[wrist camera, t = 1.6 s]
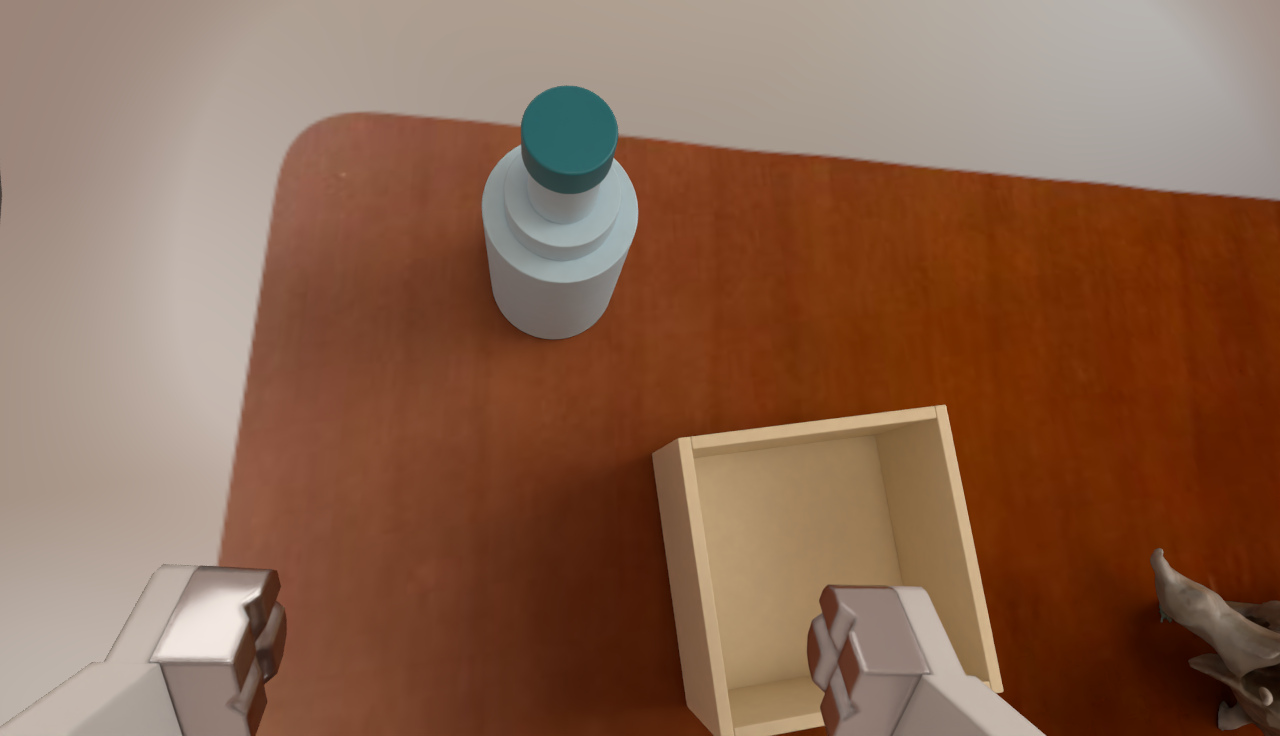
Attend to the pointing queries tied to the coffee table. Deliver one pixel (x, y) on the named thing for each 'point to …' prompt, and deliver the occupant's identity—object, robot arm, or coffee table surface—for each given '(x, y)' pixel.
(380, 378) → the coffee table surface
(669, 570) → the open box
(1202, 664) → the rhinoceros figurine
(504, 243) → the bottle
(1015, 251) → the coffee table surface
